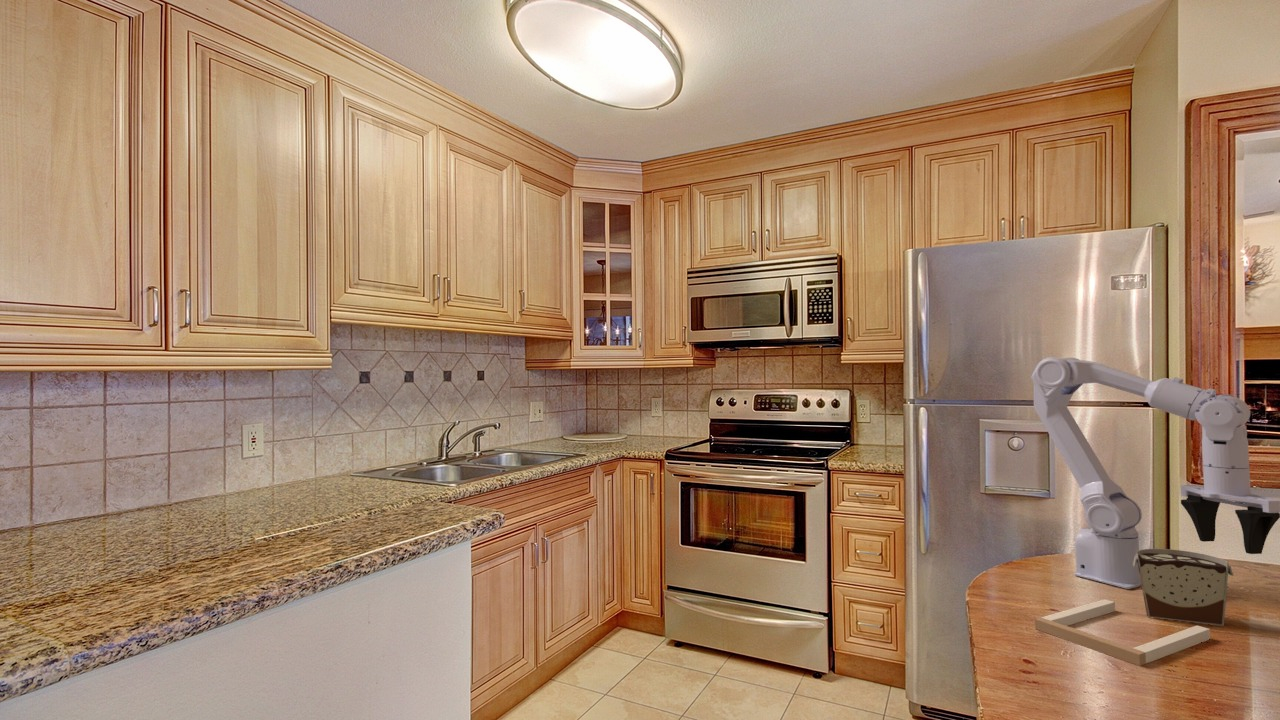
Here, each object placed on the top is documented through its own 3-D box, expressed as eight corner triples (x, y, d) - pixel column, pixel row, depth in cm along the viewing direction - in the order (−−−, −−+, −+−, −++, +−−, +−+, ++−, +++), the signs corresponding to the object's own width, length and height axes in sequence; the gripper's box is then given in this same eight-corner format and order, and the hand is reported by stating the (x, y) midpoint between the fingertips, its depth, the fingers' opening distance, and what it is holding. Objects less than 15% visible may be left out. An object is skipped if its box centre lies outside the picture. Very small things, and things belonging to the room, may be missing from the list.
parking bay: (1035, 628, 95) (1034, 619, 95) (1105, 608, 102) (1104, 599, 103) (1139, 665, 82) (1139, 654, 82) (1210, 639, 90) (1209, 628, 90)
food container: (1218, 613, 99) (1215, 551, 100) (1236, 627, 94) (1232, 562, 94) (1125, 603, 104) (1122, 544, 105) (1136, 616, 99) (1133, 554, 99)
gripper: (1164, 461, 110) (1167, 536, 110) (1249, 473, 96) (1254, 560, 95) (1200, 460, 111) (1203, 535, 110) (1290, 472, 96) (1295, 558, 96)
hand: (1229, 546), depth 103 cm, fingers open, 7 cm apart
